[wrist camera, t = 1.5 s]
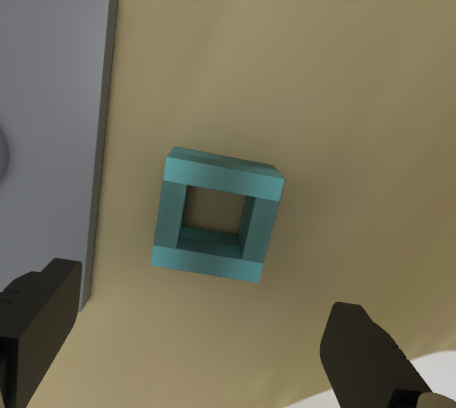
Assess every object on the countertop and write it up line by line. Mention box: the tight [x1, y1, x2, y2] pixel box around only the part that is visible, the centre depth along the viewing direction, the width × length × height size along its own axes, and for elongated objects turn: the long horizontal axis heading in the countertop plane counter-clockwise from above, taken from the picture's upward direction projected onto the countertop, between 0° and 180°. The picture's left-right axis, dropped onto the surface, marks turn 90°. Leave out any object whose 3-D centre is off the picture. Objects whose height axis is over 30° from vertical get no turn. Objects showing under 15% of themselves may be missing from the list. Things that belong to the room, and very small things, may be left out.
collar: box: [151, 147, 285, 283], centre depth 20 cm, size 6×6×4 cm
